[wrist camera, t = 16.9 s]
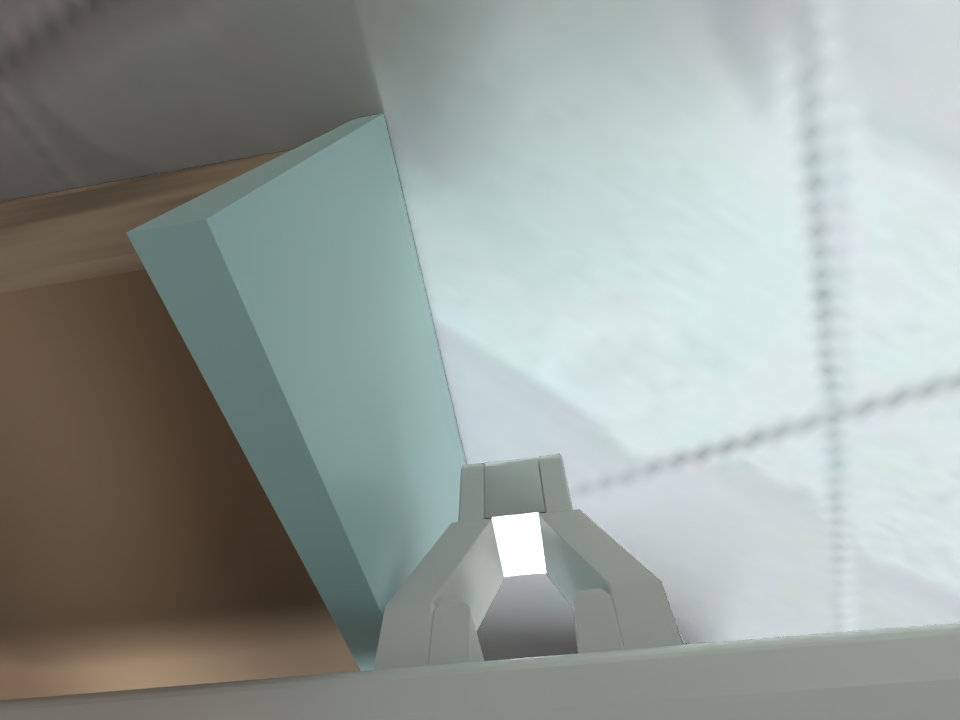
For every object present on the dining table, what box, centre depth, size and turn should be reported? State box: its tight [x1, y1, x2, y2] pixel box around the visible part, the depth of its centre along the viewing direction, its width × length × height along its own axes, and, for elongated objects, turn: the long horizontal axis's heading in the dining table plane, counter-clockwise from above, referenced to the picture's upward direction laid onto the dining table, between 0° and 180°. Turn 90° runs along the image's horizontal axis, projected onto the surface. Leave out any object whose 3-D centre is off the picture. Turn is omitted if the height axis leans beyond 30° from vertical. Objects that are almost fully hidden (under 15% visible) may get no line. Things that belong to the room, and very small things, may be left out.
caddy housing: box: [0, 150, 361, 700], centre depth 14 cm, size 14×14×10 cm
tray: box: [126, 113, 466, 671], centre depth 13 cm, size 13×15×10 cm
